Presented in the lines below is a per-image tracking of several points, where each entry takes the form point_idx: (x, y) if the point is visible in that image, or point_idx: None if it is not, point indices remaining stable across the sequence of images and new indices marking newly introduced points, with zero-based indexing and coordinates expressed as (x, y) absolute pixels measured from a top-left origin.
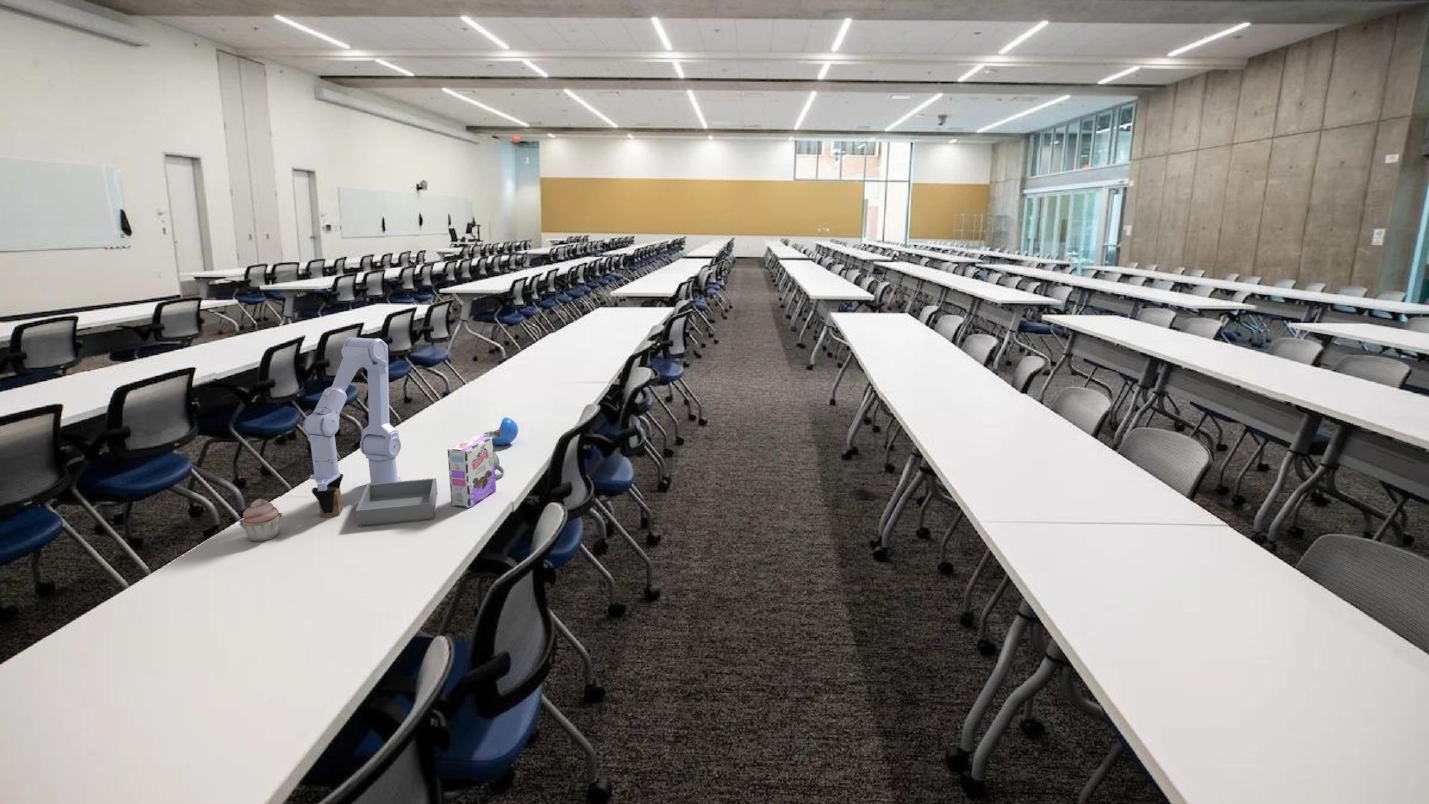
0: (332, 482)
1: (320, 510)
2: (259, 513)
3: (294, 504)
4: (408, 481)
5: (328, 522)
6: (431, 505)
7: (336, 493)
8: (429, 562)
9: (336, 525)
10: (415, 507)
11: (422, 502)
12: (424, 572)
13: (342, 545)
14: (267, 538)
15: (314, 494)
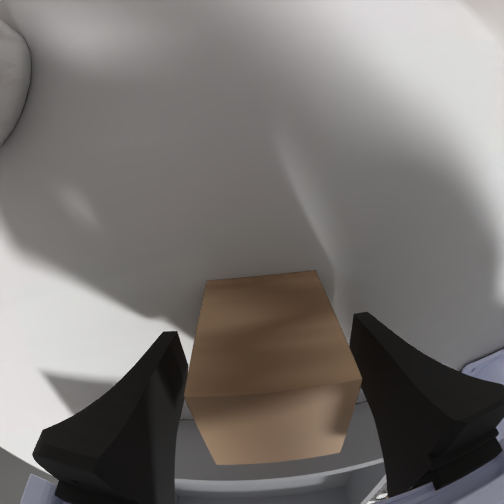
0: (401, 449)
1: (201, 310)
2: None
3: (457, 74)
4: (365, 499)
5: (132, 332)
6: None
7: (233, 461)
8: (25, 454)
9: (105, 363)
10: None
11: (278, 490)
12: (5, 443)
13: (3, 377)
14: None
15: (53, 431)
